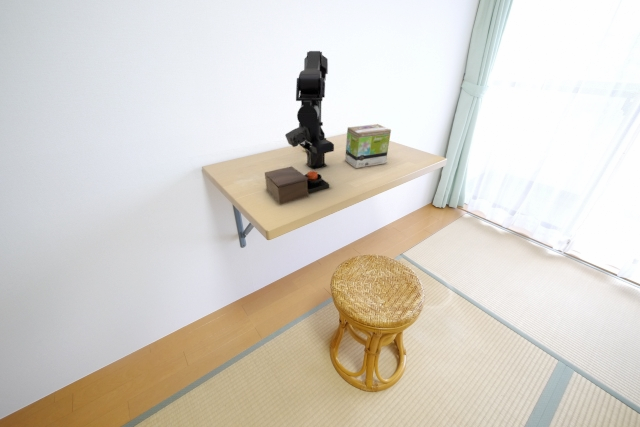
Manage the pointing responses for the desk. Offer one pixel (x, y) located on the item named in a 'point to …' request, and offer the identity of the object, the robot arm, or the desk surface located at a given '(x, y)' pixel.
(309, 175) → the button
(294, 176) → the wooden box lid
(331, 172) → the desk surface
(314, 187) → the control block
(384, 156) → the tea box
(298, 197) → the open wooden box
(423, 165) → the desk surface
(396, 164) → the desk surface
